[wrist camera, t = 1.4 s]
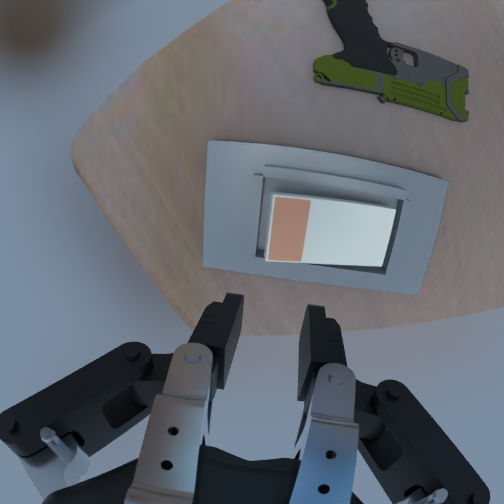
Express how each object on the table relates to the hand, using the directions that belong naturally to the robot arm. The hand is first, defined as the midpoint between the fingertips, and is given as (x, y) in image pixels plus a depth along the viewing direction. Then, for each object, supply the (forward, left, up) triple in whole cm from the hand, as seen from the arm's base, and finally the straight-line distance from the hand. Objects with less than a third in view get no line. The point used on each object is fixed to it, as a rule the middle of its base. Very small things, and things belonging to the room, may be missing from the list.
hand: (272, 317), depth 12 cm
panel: (-5, 0, -19) cm, 20 cm away
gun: (-11, -21, -20) cm, 31 cm away
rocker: (-5, 0, -14) cm, 15 cm away
